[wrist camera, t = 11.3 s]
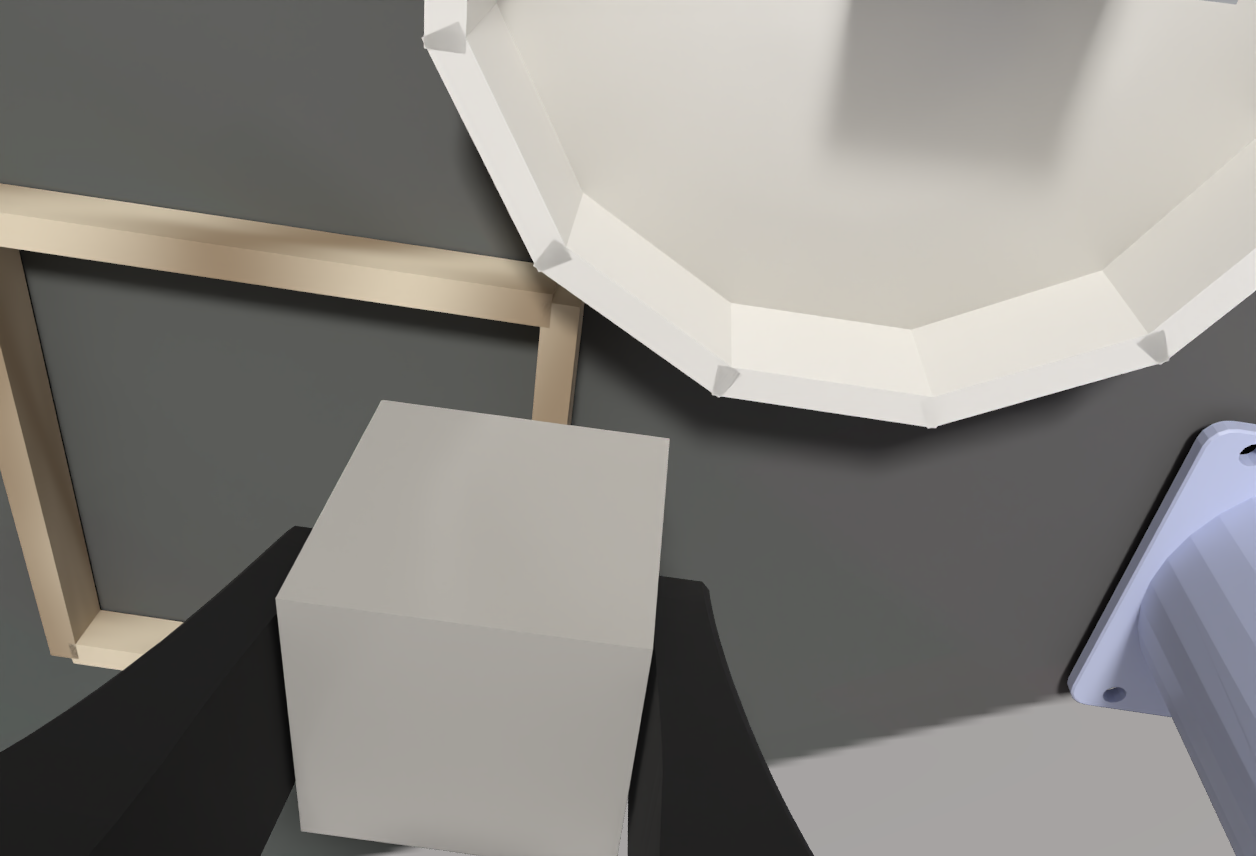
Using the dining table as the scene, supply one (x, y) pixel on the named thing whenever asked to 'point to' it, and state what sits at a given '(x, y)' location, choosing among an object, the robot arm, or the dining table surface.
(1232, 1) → the matte grey cube
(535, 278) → the parts frame
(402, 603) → the beige grey cube
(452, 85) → the bowl
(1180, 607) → the robot arm
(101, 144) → the dining table surface
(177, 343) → the dining table surface
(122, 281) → the dining table surface
